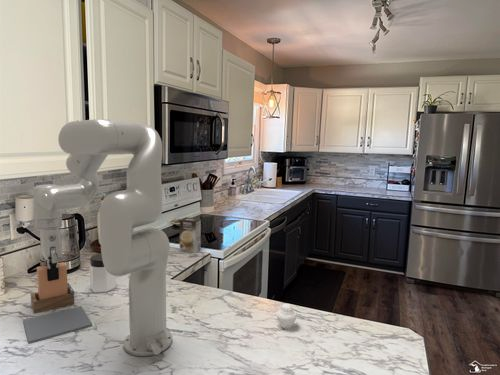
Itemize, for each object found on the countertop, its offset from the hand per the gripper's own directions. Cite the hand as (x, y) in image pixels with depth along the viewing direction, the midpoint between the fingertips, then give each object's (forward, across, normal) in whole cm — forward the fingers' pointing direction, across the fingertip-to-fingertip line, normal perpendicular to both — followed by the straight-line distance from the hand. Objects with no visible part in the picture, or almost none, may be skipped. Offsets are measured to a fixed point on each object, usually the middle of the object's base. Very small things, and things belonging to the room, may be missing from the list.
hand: (52, 277), depth 115 cm
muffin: (+11, -55, -54) cm, 77 cm away
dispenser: (+9, 0, 0) cm, 9 cm away
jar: (+10, +4, -17) cm, 20 cm away
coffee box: (+10, +27, -65) cm, 71 cm away
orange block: (+6, 0, 0) cm, 6 cm away
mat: (+10, -15, +1) cm, 18 cm away
